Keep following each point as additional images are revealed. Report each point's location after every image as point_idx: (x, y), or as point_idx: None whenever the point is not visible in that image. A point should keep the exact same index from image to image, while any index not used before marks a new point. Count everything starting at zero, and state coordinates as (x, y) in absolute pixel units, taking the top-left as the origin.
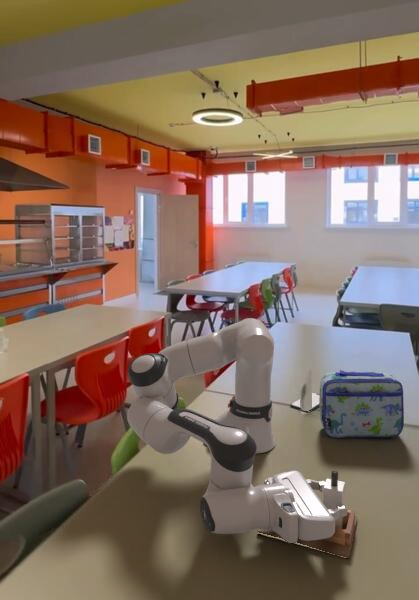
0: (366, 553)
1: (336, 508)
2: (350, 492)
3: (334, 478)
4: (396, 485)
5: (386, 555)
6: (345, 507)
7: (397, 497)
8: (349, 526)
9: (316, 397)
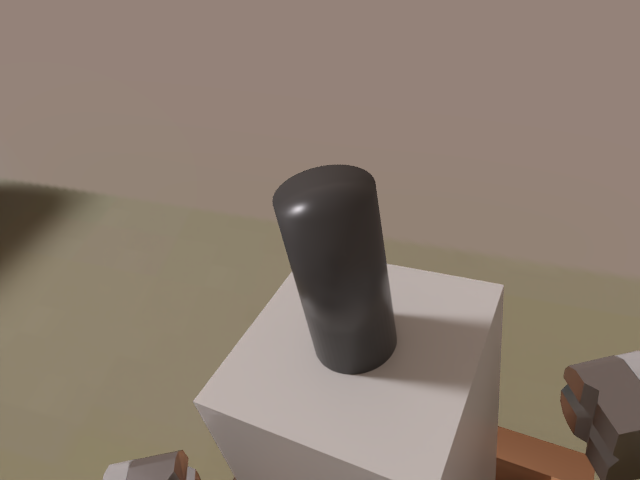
0: None
1: (611, 455)
2: (76, 386)
3: (382, 258)
4: (121, 235)
5: (559, 345)
6: (610, 357)
7: (184, 243)
8: (500, 442)
9: None
